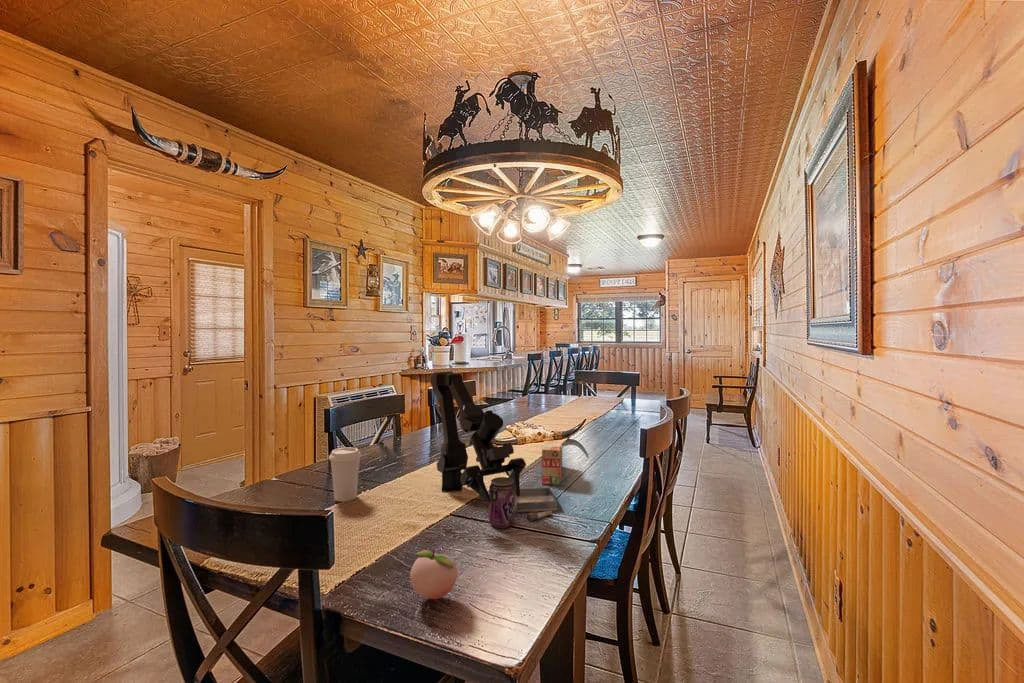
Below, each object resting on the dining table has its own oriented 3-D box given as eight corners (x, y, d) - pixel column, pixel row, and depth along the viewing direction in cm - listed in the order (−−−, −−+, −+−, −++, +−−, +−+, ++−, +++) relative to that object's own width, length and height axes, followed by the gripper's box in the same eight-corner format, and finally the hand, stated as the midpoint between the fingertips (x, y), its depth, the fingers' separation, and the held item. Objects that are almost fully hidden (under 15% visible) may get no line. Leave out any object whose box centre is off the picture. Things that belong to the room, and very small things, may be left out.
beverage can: (496, 531, 124) (496, 486, 123) (485, 521, 130) (485, 478, 130) (519, 526, 127) (519, 482, 127) (507, 517, 133) (507, 475, 133)
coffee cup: (367, 497, 148) (366, 450, 148) (338, 506, 141) (337, 456, 141) (352, 490, 155) (351, 445, 154) (323, 498, 148) (323, 450, 147)
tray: (516, 511, 137) (516, 503, 137) (511, 496, 149) (511, 489, 149) (557, 510, 138) (557, 501, 138) (549, 495, 151) (549, 487, 150)
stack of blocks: (546, 466, 182) (546, 434, 182) (562, 466, 181) (562, 435, 181) (541, 484, 161) (541, 448, 161) (560, 485, 160) (560, 449, 160)
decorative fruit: (400, 606, 91) (400, 555, 90) (423, 584, 98) (423, 537, 98) (443, 617, 87) (443, 564, 87) (463, 594, 95) (463, 545, 95)
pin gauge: (531, 522, 130) (531, 515, 130) (526, 520, 131) (526, 513, 131) (553, 515, 134) (553, 508, 134) (548, 513, 136) (548, 506, 136)
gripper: (464, 437, 126) (484, 490, 117) (522, 429, 136) (545, 478, 127) (452, 459, 133) (470, 511, 124) (508, 450, 143) (528, 498, 134)
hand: (504, 499), depth 127 cm, fingers open, 9 cm apart
